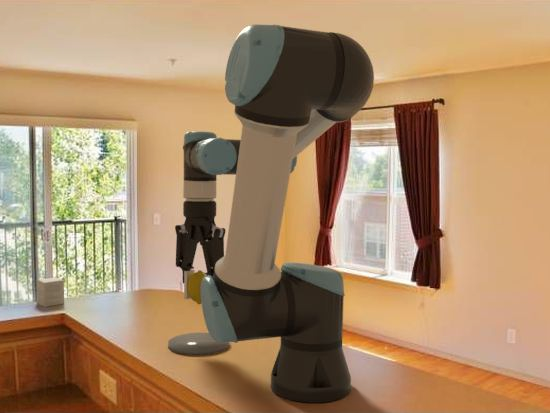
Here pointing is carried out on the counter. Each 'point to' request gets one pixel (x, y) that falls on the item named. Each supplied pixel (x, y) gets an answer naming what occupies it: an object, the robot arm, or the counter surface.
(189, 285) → the lemon
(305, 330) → the robot arm
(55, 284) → the product box
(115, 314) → the counter surface
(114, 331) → the counter surface
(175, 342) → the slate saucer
